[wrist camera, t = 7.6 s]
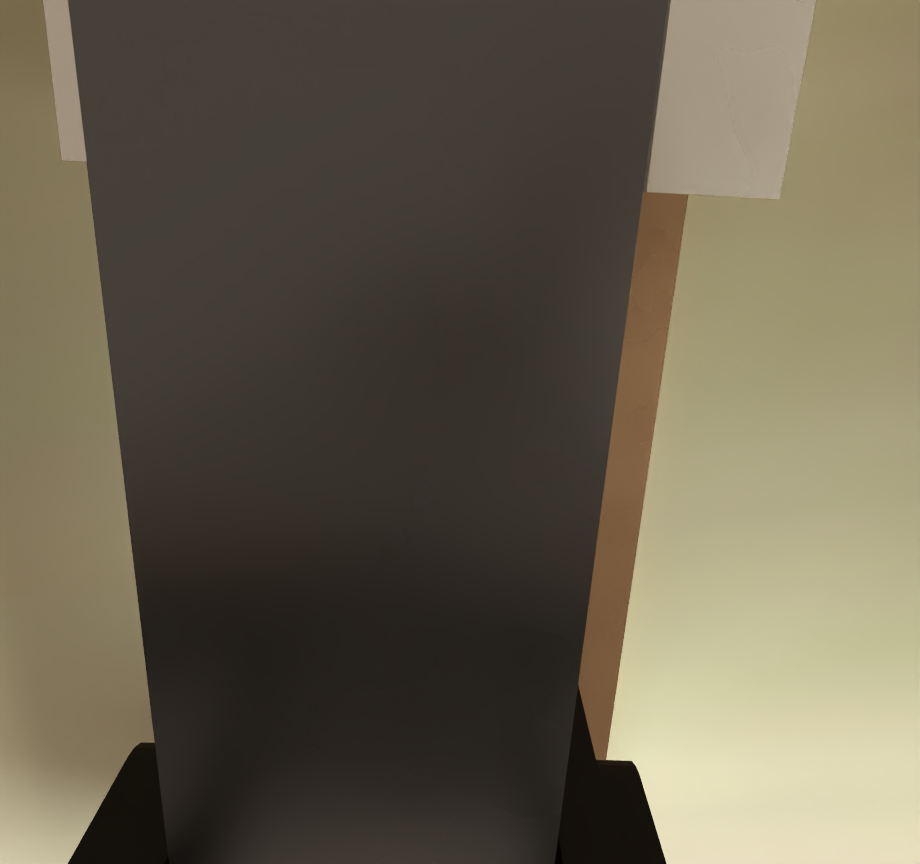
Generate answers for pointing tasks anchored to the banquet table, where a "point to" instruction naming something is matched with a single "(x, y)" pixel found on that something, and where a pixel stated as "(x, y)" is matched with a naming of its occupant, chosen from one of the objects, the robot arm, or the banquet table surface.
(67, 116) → the bracket
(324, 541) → the dark grey bar
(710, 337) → the banquet table surface
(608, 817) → the robot arm
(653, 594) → the banquet table surface
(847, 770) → the banquet table surface
